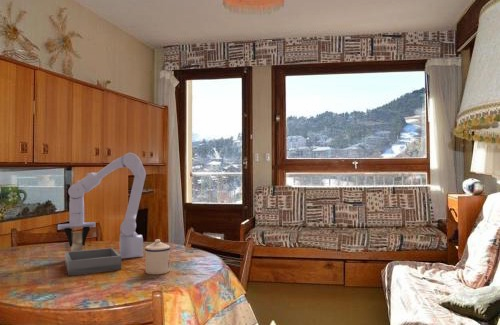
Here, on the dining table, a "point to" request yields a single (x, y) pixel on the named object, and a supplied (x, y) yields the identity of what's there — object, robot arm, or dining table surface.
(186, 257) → the dining table surface
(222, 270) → the dining table surface
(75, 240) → the peg
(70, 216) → the robot arm
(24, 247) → the dining table surface
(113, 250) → the box
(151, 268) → the teacup with lid
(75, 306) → the dining table surface
